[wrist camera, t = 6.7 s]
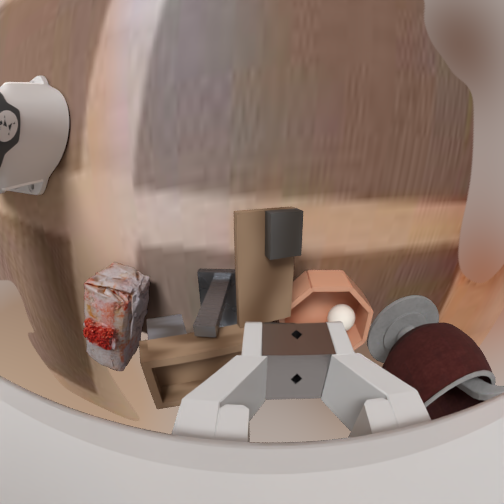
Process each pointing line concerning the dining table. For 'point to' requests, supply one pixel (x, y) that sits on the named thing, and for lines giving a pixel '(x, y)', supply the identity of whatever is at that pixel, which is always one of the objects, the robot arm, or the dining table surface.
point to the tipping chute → (247, 300)
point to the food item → (115, 314)
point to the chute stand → (216, 301)
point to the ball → (342, 315)
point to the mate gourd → (431, 356)
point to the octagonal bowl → (329, 301)
